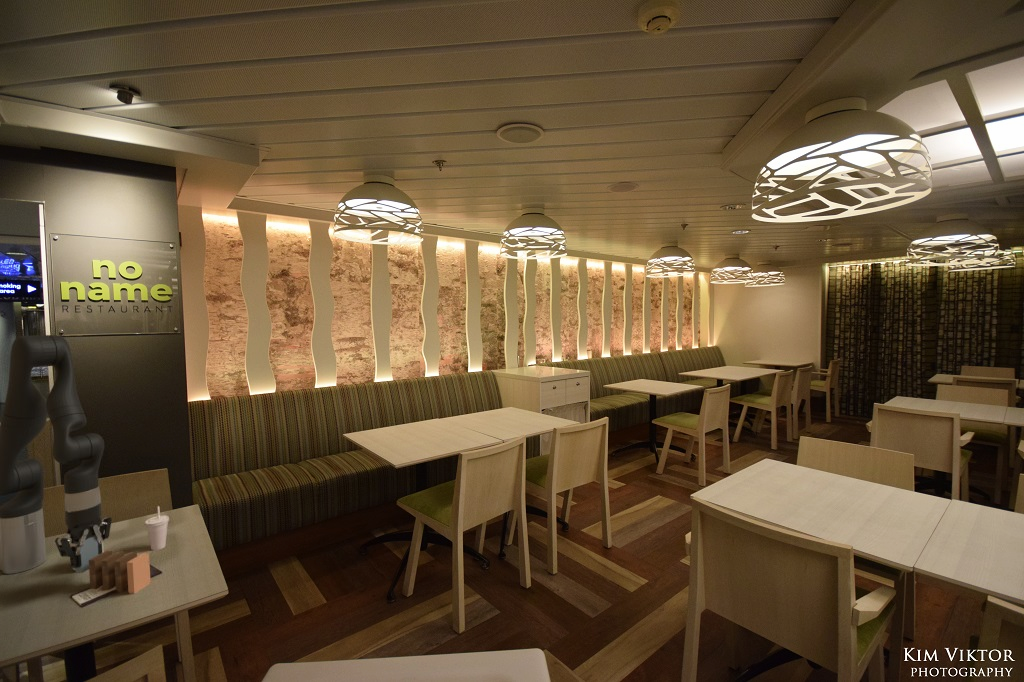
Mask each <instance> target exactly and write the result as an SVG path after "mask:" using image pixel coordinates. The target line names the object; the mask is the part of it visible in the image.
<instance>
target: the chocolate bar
mask: <svg viewBox="0 0 1024 682" xmlns="http://www.w3.org/2000/svg"><path fill="white" fill-rule="evenodd" d="M162 574H163V571H162V570H160V569H158V568H156V567H155V566H153V565H152V564H150V579H153V578H154V577H157V576H160V575H162ZM117 593H119V592H118V591H117V590H116V586H115V587H113V588H111V589H110V590H103V585H102V586H101V587H99V588H97V589H90V586H89V587H87V588H84V589H82V590H79V591H76V592H75V593H72V594H70V598H72V599H73V600H74V601H75V602H76V603H77V604H79V606H81V607H82V608H85V607H88V606H89V605H92V604H94V603H96V602H98V601H101V600H104V599H105V598H107V597H111V596H113V595H115V594H117Z"/></svg>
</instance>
